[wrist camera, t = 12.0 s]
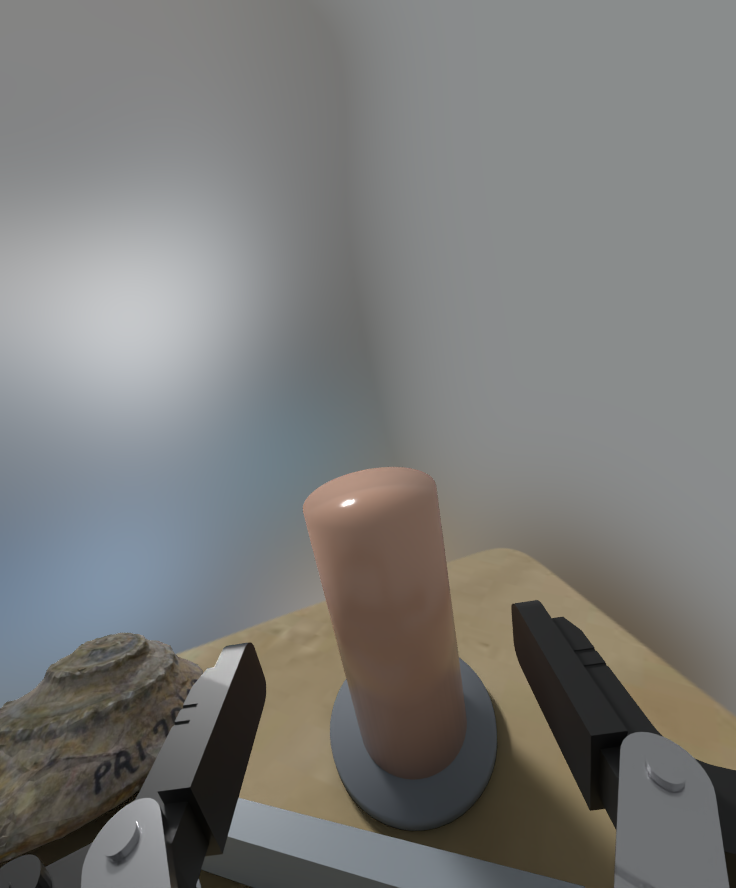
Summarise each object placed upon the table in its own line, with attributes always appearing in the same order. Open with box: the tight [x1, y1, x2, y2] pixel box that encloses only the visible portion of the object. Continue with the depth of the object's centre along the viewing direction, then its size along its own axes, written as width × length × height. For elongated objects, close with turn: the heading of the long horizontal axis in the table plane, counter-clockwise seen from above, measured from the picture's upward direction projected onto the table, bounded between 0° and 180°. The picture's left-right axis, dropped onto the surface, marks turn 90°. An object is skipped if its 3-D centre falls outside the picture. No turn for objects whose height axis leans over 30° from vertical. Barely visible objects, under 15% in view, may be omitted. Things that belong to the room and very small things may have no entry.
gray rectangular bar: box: [201, 798, 585, 888], centre depth 11 cm, size 14×1×3 cm, turn 74°
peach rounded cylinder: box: [303, 467, 467, 780], centre depth 15 cm, size 5×5×12 cm
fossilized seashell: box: [0, 633, 203, 862], centre depth 17 cm, size 11×11×7 cm
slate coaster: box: [330, 658, 497, 831], centre depth 17 cm, size 8×8×1 cm
